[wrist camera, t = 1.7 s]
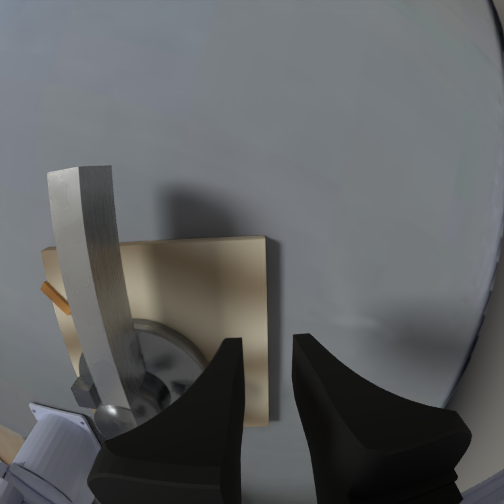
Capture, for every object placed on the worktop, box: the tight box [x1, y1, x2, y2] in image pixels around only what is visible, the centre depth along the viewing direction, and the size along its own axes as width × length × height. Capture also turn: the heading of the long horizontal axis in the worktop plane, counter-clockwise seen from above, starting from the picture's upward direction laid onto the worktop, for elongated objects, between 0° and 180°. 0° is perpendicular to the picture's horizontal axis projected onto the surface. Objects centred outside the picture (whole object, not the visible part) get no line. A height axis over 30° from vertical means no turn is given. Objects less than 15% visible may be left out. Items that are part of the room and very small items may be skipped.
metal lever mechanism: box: [47, 165, 209, 439], centre depth 16 cm, size 20×10×6 cm, turn 2°
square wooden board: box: [41, 235, 269, 427], centre depth 21 cm, size 16×17×1 cm
